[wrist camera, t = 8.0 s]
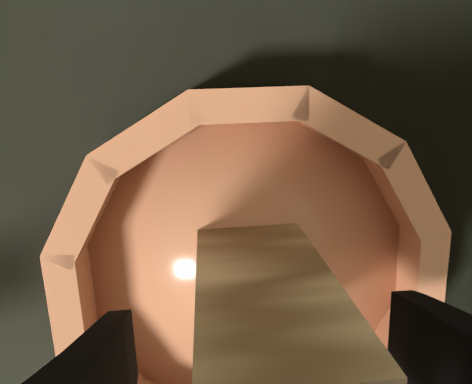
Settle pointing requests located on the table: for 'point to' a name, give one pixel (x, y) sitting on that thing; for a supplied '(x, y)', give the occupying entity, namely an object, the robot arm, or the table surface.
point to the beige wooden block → (278, 314)
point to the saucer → (237, 213)
